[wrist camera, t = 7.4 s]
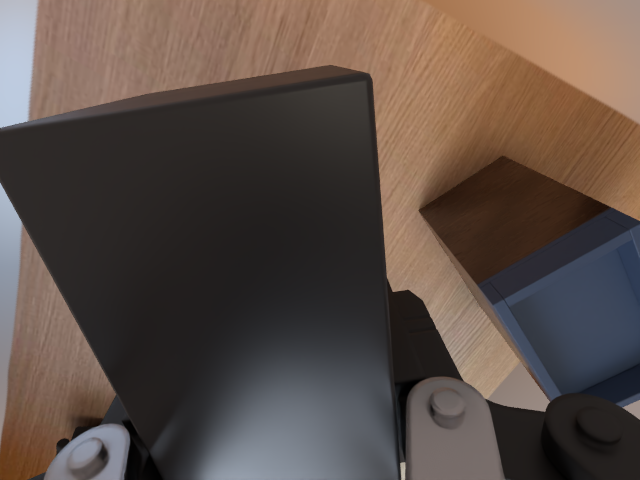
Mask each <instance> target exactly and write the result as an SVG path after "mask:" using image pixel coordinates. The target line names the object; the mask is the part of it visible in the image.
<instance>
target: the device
mask: <svg viewBox="0 0 640 480" xmlns="http://www.w3.org/2000/svg"><path fill="white" fill-rule="evenodd" d="M0 183H1V185H2V186H3V188H4V190H5V192H6V194H7V196H8V197H9V199H10V201H11V203H12V204H13V207H14V208H15V210H16V212H17V214H18V215H19V218H20V219H21V221H22V223H23V225H24V227H25V228H26V230H27V232H28V234H29V236H30V238H31V239H32V241H33V243H34V245H35V247H36V249H37V250H38V252H39V254H40V256H41V258H42V260H43V261H44V263H45V265H46V267H47V269H48V271H49V272H50V274H51V276H52V278H53V280H54V281H55V283H56V285H57V287H58V289H59V291H60V292H61V294H62V296H63V298H64V300H65V302H66V303H67V305H68V307H69V309H70V311H71V313H72V314H73V316H74V318H75V320H76V322H77V323H78V325H79V327H80V329H81V331H82V333H83V334H84V336H85V338H86V340H87V342H88V344H89V345H90V347H91V349H92V351H93V353H94V355H95V356H96V358H97V360H98V362H99V364H100V366H101V367H102V369H103V371H104V373H105V375H106V376H107V378H108V380H109V382H110V384H111V386H112V387H113V389H114V391H115V393H116V395H117V397H118V398H119V400H120V402H121V404H122V406H123V408H124V409H125V411H126V413H127V415H128V417H129V419H130V420H131V422H132V424H133V426H134V428H135V429H136V431H137V433H138V435H139V437H140V439H141V440H142V442H143V444H144V446H145V448H146V450H147V451H148V453H149V455H150V457H151V459H152V461H153V462H154V464H155V466H156V468H157V470H158V471H159V473H160V475H161V477H162V479H163V480H401V469H400V455H399V441H398V427H397V413H396V399H395V386H394V372H393V358H392V344H391V330H390V316H389V303H388V289H387V275H386V261H385V247H384V233H383V219H382V206H381V192H380V178H379V164H378V150H377V136H376V123H375V109H374V95H373V81H372V78H371V76H370V74H368V73H365V72H361V71H356V70H351V69H347V68H342V67H337V66H333V65H328V66H321V67H315V68H309V69H302V70H296V71H290V72H283V73H277V74H271V75H264V76H258V77H252V78H245V79H239V80H233V81H226V82H220V83H214V84H207V85H201V86H195V87H188V88H182V89H176V90H169V91H163V92H157V93H150V94H145V95H140V96H136V97H132V98H127V99H123V100H119V101H114V102H110V103H106V104H101V105H97V106H93V107H89V108H84V109H80V110H76V111H71V112H67V113H63V114H58V115H54V116H50V117H45V118H41V119H37V120H33V121H28V122H24V123H20V124H15V125H12V126H7V127H2V128H0Z"/></svg>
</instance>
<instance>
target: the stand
mask: <svg viewBox="0 0 640 480" xmlns="http://www.w3.org/2000/svg"><path fill="white" fill-rule="evenodd" d="M610 208H611V207H609V206H607V205H605V204H603V203H601V202H599V201H597V200H595V199H593V198H591V197H588V196H586V195H584V194H582V193H580V192H578V191H576V190H574V189H572V188H570V187H568V186H565V185H563V184H561V183H559V182H557V181H555V180H553V179H551V178H549V177H547V176H545V175H542V174H540V173H538V172H536V171H534V170H532V169H530V168H528V167H526V166H524V165H522V164H519V163H517V162H515V161H513V160H511V159H509V158H507V157H505V156H502V157H501V158H499V159H498V160H496V161H495V162H493V163H491V164H490V165H488V166H487V167H485V168H484V169H482V170H481V171H479V172H478V173H476V174H474V175H473V176H471V177H470V178H468V179H467V180H465V181H464V182H462V183H461V184H459V185H457V186H456V187H454V188H453V189H451V190H450V191H448V192H447V193H445V194H444V195H442V196H440V197H439V198H437V199H436V200H434V201H433V202H431V203H430V204H428V205H427V206H425V207H423V208H422V209H420V210H419V212H420V214H421V216H422V217H423V219H424V220H425V222H426V223H427V225H428V226H429V228H430V229H431V231H432V233H433V234H434V236H435V237H436V239H437V240H438V242H439V243H440V245H441V246H442V248H443V249H444V251H445V253H446V254H447V256H448V257H449V259H450V260H451V262H452V263H453V265H454V266H455V268H456V270H457V271H458V273H459V274H460V276H461V277H462V279H463V280H464V282H465V283H466V285H467V287H468V288H469V290H470V291H471V293H472V294H473V296H474V297H475V299H476V300H477V302H478V303H479V305H480V307H481V308H482V309H483V311H484V312H485V313H486V315H487V316H488V318H489V319H490V320H491V322H492V323H493V324H494V326H495V327H496V329H497V330H498V331H499V333H500V334H501V335H502V337H503V338H504V339H505V341H506V342H507V344H508V345H509V346H510V348H511V349H512V350H513V352H514V353H515V354H516V356H517V357H518V359H519V360H520V361H521V363H522V364H523V365H524V367H525V368H526V369H527V371H528V372H529V374H530V375H531V376H532V378H533V379H534V380H535V382H536V383H537V384H538V386H539V387H540V389H541V390H542V391H543V389H542V387H541V386H540V384H539V383H538V381H537V380H536V378H535V376H534V375H533V373H532V372H531V370H530V368H529V367H528V365H527V364H526V362H525V361H524V359H523V357H522V356H521V354H520V353H519V351H518V349H517V348H516V346H515V345H514V343H513V342H512V340H511V338H510V337H509V335H508V334H507V332H506V331H505V329H504V327H503V326H502V324H501V323H500V321H499V319H498V318H497V316H496V315H495V313H494V312H493V310H492V308H491V307H490V305H489V304H488V302H487V300H486V299H485V297H484V296H483V294H482V293H481V291H480V289H479V288H478V286H477V285H478V284H480V283H481V282H483V281H485V280H487V279H488V278H490V277H492V276H494V275H495V274H497V273H499V272H501V271H502V270H504V269H506V268H508V267H509V266H511V265H513V264H514V263H516V262H518V261H520V260H521V259H523V258H525V257H527V256H528V255H530V254H532V253H534V252H535V251H537V250H539V249H541V248H542V247H544V246H546V245H548V244H549V243H551V242H553V241H555V240H556V239H558V238H560V237H562V236H563V235H565V234H567V233H569V232H570V231H572V230H574V229H576V228H577V227H579V226H581V225H583V224H584V223H586V222H588V221H590V220H591V219H593V218H595V217H597V216H598V215H600V214H602V213H603V212H605V211H607V210H609V209H610ZM543 393H544V394H545V392H544V391H543ZM545 395H546V394H545ZM546 397H547V395H546ZM547 398H548V397H547ZM548 400H549V399H548ZM549 401H550V400H549Z"/></svg>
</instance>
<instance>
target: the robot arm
mask: <svg viewBox="0 0 640 480" xmlns="http://www.w3.org/2000/svg"><path fill="white" fill-rule="evenodd" d="M387 289H388V303H389V316H390V330H391V344H392V358H393V372H394V386H395V399H396V413H397V427H398V441H399V455H400V463H401V462H405V463H406V470H405V480H640V420H639V419H638V418H636V417H635V416H634V415H632V414H631V413H629V412H628V411H626V410H625V409H623V408H622V407H620V406H618V405H616V404H615V403H613V402H610V401H608V400H606V399H603V398H600V397H597V396H593V395H588V394H581V393H569V394H564V395H561V396H558V397H556V398H555V399H553V400H552V401H551V402H550V403H549V404H548V406H547V408H546V412H541V411H535V410H528V409H521V408H514V407H507V406H503V405H500V404H496V403H493V402H491V401H489V400H487V399H485V398H484V397H483V396H482V395H481V393H480V392H478V391H477V390H476V389H475V388H474V387H472V386H471V385H469V384H467V383H466V382H464V381H463V379H462V377H461V376H460V374H459V372H458V370H457V368H456V366H455V364H454V362H453V360H452V358H451V356H450V354H449V352H448V350H447V348H446V346H445V344H444V342H443V340H442V338H441V336H440V334H439V332H438V330H437V329H436V326H435V324H434V322H433V320H432V318H431V317H430V314H429V312H428V310H427V308H426V306H425V304H424V302H423V300H421V299H420V298H419V297H417V296H416V295H415V294H413V293H412V292H411V291H409V290H404V291H397V292H392V289H391V287H390V284H389V282H388V279H387ZM28 480H163V479H162V477H161V475H160V473H159V471H158V470H157V468H156V466H155V464H154V462H153V461H152V459H151V457H150V455H149V453H148V451H147V450H146V448H145V446H144V444H143V442H142V440H141V439H140V437H139V435H138V433H137V431H136V429H135V428H134V426H133V424H132V422H131V420H130V419H129V417H128V415H127V413H126V411H125V409H124V408H123V406H122V404H121V402H120V400H119V398H118V397H117V395H116V397H115V398H114V400H113V402H112V404H111V406H110V408H109V409H108V411H107V413H106V415H105V417H104V419H103V420H102V422H101V424H100V426H97V427H94V428H92V429H90V430H88V431H86V432H84V433H82V434H81V435H79V436H78V437H76V438H75V439H73V440H72V441H71V442H70V443H68V444H67V445H66V446H65V447H64V448H63V449H62V450H61V451H60V452H59V453H58V454H57V456H56V457H55V458H54V460H53V461H52V463H51V464H50V466H49V468H48V470H47V472H45V473H42V474H40V475H38V476H35V477H33V478H31V479H28Z"/></svg>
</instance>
